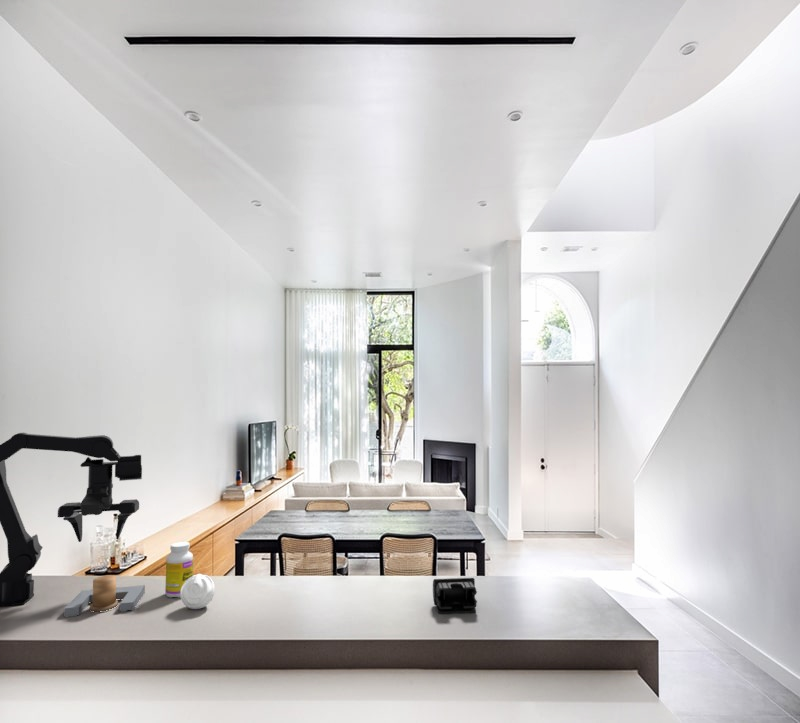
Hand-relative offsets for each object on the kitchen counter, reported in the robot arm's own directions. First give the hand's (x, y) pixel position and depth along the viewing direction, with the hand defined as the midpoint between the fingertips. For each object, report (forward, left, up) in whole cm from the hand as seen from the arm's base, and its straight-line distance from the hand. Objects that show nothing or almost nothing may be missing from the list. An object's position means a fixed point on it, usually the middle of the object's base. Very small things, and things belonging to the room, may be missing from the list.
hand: (99, 540), depth 146 cm
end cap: (+89, -36, -13) cm, 97 cm away
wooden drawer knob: (+5, -14, -13) cm, 20 cm away
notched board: (+5, -12, -13) cm, 18 cm away
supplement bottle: (+22, -9, -13) cm, 27 cm away
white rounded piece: (+28, -20, -13) cm, 37 cm away
